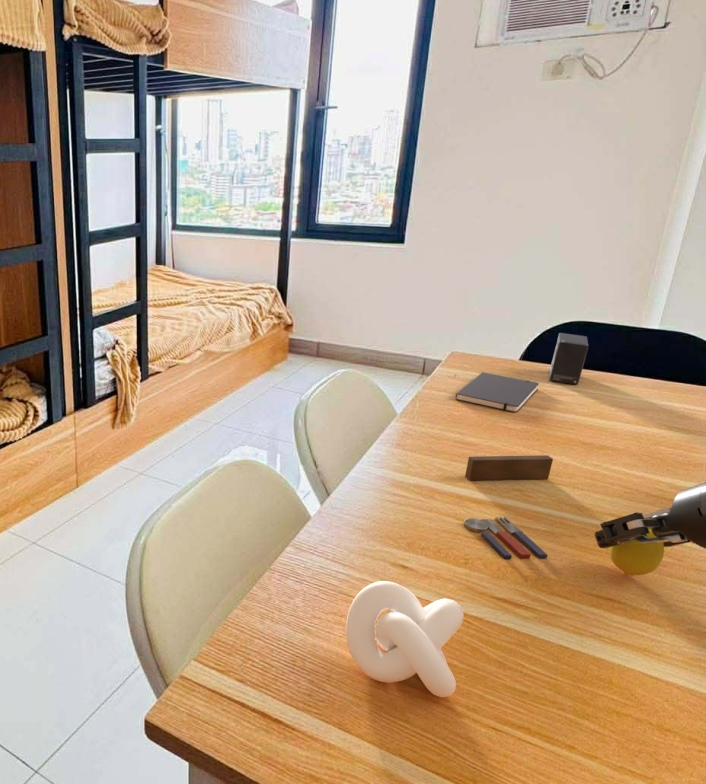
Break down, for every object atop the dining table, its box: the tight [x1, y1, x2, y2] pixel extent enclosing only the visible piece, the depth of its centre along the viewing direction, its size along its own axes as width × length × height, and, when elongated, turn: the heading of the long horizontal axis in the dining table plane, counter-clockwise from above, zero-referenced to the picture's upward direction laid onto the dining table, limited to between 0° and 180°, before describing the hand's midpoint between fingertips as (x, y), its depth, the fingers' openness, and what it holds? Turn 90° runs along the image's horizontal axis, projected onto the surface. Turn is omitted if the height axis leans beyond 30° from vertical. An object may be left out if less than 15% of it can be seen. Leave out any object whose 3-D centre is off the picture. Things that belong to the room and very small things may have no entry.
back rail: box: [464, 454, 554, 481], centre depth 110 cm, size 14×2×4 cm, turn 91°
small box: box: [548, 332, 589, 385], centre depth 159 cm, size 11×6×10 cm, turn 147°
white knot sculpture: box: [345, 580, 465, 699], centre depth 67 cm, size 11×12×9 cm
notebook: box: [455, 371, 540, 413], centre depth 150 cm, size 13×2×21 cm
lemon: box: [608, 529, 665, 577], centre depth 83 cm, size 6×6×8 cm
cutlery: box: [463, 516, 549, 560], centre depth 93 cm, size 10×8×1 cm
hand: (630, 539), depth 84 cm, fingers open, 8 cm apart
